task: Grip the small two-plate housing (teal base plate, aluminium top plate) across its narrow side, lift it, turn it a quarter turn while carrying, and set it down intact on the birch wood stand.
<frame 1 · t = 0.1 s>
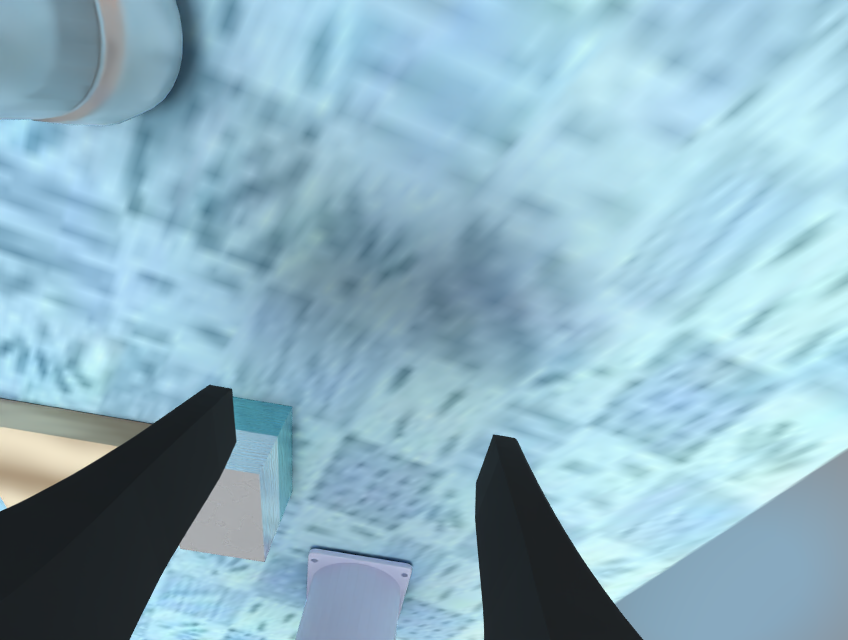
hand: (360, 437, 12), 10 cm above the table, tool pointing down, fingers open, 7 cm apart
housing: (254, 444, 27), on the table
plastic bottle: (123, 20, 16), on the table
stand: (98, 469, 29), on the table
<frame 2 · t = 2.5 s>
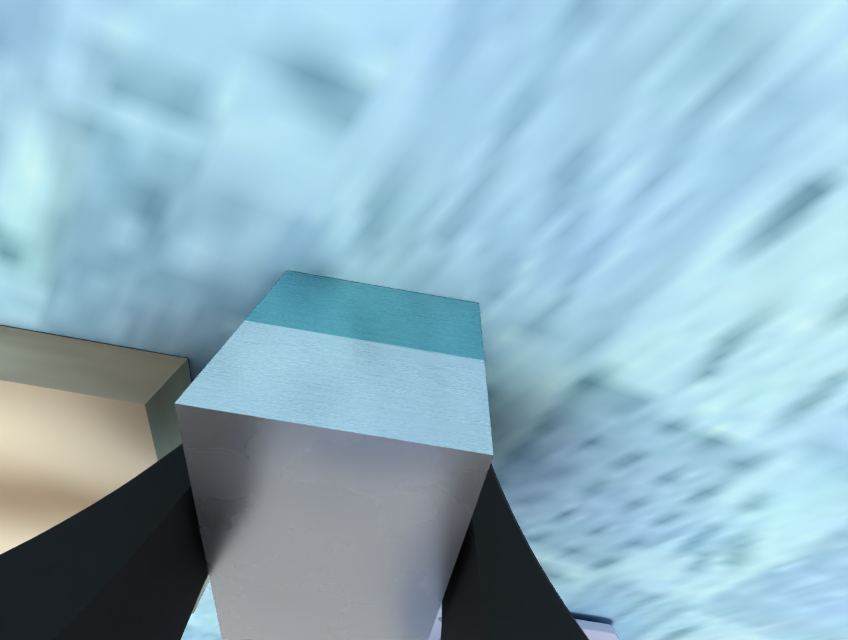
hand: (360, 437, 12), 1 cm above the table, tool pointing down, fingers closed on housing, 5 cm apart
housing: (369, 402, 13), on the table, touching gripper
stand: (52, 453, 15), on the table
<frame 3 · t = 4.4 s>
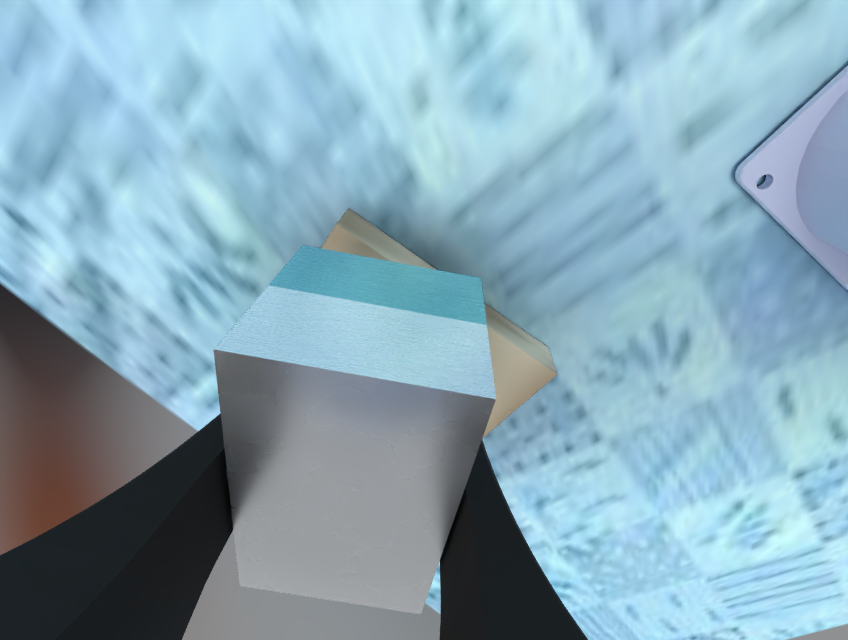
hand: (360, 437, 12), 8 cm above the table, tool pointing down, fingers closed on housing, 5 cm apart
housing: (376, 373, 14), point 6 cm above the table, touching gripper
stand: (387, 362, 21), on the table
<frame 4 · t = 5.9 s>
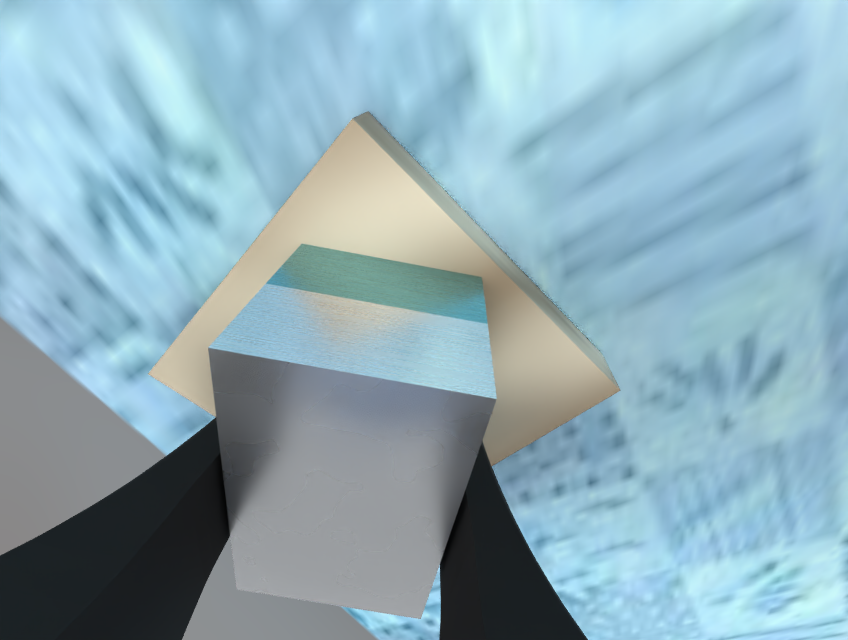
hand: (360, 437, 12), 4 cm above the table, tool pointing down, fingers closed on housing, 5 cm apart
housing: (376, 373, 14), point 2 cm above the table, touching gripper, stand
stand: (384, 347, 15), on the table
when the fingers open (4 cm above the table, at t = 6.5 s): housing stays where it is, resting on stand.
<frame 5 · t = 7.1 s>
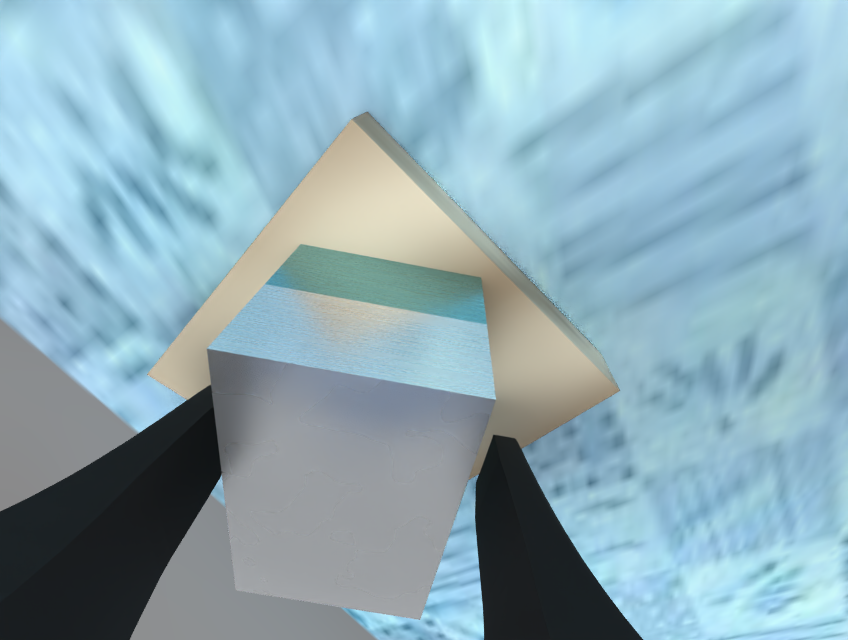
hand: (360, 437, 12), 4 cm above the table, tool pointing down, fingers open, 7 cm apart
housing: (375, 374, 14), point 2 cm above the table, touching stand
stand: (384, 347, 15), on the table
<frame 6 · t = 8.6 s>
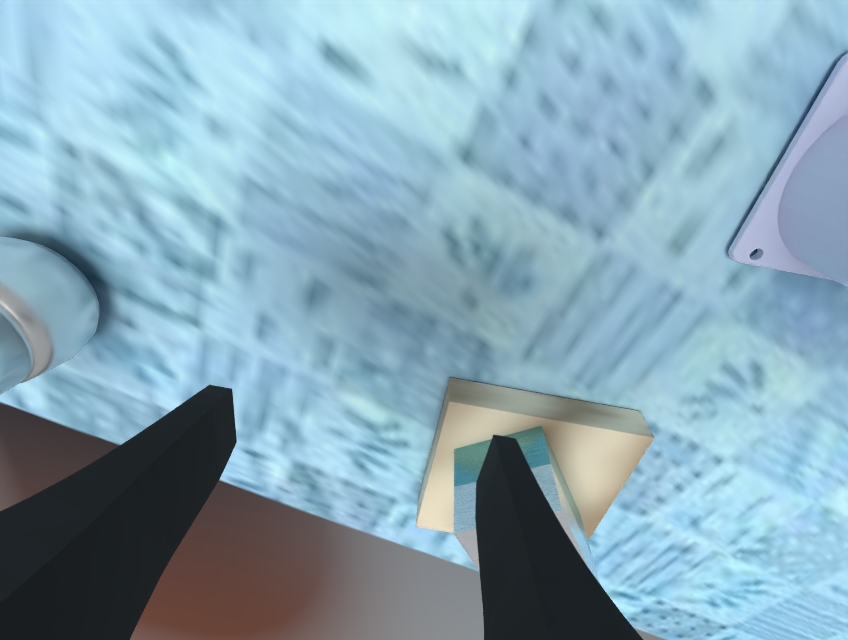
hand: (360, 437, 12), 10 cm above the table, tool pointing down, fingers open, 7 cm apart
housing: (520, 483, 25), point 2 cm above the table, touching stand
plastic bottle: (57, 282, 22), on the table
stand: (518, 459, 26), on the table
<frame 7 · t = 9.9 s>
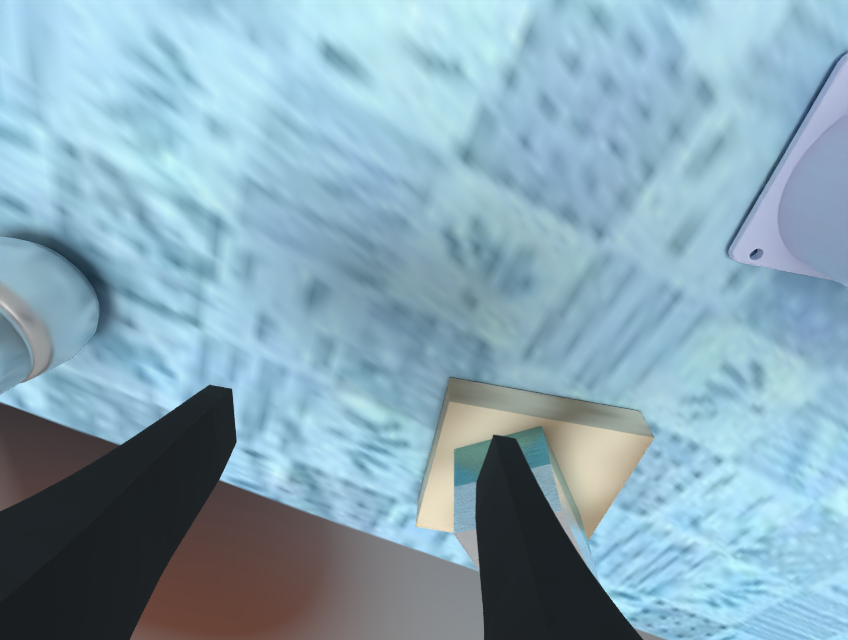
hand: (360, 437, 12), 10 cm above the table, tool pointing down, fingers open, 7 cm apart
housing: (520, 483, 25), point 2 cm above the table, touching stand
plastic bottle: (57, 282, 22), on the table
stand: (518, 459, 26), on the table
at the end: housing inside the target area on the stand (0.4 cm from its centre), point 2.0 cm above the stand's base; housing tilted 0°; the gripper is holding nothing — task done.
